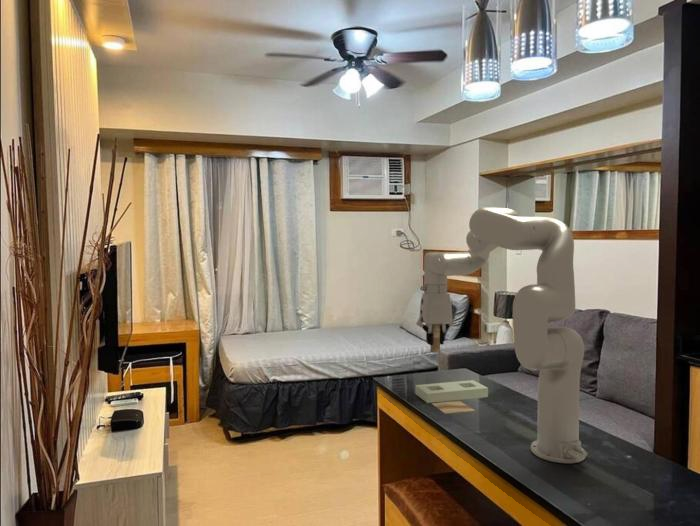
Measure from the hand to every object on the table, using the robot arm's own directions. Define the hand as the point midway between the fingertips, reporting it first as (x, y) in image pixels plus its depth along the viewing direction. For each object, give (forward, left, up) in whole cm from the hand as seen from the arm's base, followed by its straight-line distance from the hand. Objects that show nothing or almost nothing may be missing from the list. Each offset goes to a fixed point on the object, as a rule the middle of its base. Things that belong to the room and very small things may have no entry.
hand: (435, 343), depth 167 cm
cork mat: (-11, -1, -19) cm, 22 cm away
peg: (0, 0, -3) cm, 3 cm away
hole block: (0, -6, -19) cm, 20 cm away
